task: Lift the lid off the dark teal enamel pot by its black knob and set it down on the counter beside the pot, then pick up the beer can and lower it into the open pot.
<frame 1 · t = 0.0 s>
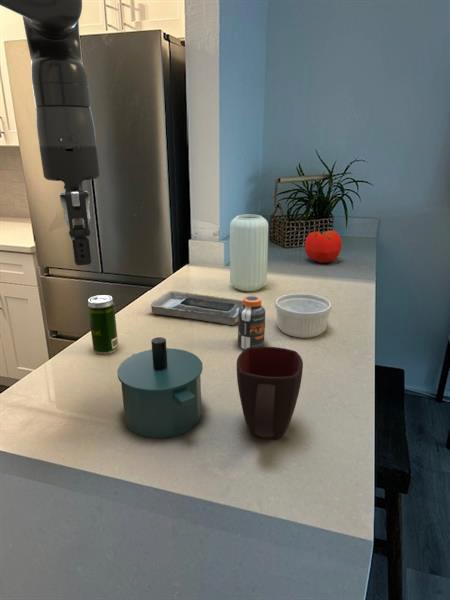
hand: (82, 257, 65), 27 cm above the counter, tool pointing down, fingers open, 8 cm apart
beer can: (106, 350, 95), on the counter
grey metal tray: (200, 313, 116), on the counter
tomato: (321, 261, 164), on the counter
cup: (266, 436, 67), on the counter
pill bottle: (251, 346, 97), on the counter
pot lid: (160, 369, 70), point 8 cm above the counter, touching pot
vase: (248, 288, 135), on the counter
ramekin: (301, 329, 105), on the counter
pot: (163, 414, 73), on the counter
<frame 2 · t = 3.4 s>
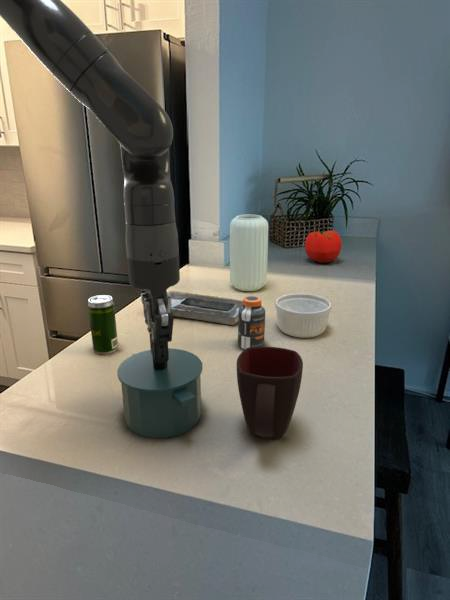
hand: (159, 357, 69), 11 cm above the counter, tool pointing down, fingers closed on pot lid, 2 cm apart
pot lid: (160, 369, 70), point 9 cm above the counter, touching gripper, pot
everything else where it was.
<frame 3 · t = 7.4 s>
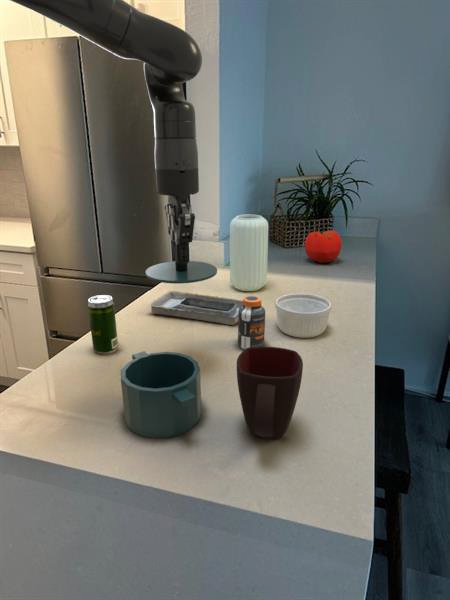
hand: (181, 261, 81), 22 cm above the counter, tool pointing down, fingers closed on pot lid, 2 cm apart
pot lid: (181, 272, 82), point 20 cm above the counter, touching gripper
everything else where it was.
when the fingers open (3 cm above the counter, at t = 11.7 s): pot lid stays where it is, point 1 cm above the counter.
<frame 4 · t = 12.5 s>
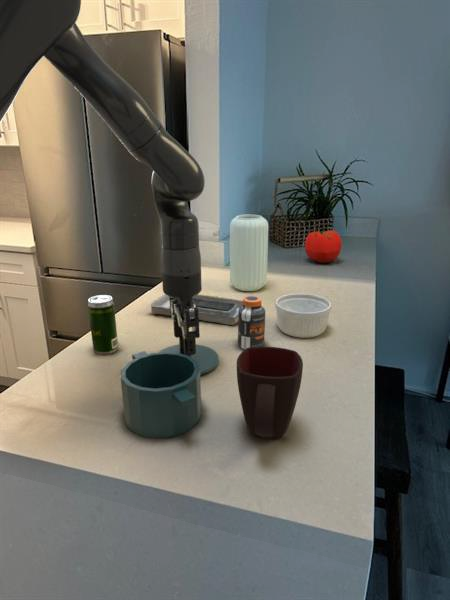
hand: (184, 345, 88), 4 cm above the counter, tool pointing down, fingers open, 8 cm apart
pot lid: (185, 360, 89), point 1 cm above the counter
everything else where it was.
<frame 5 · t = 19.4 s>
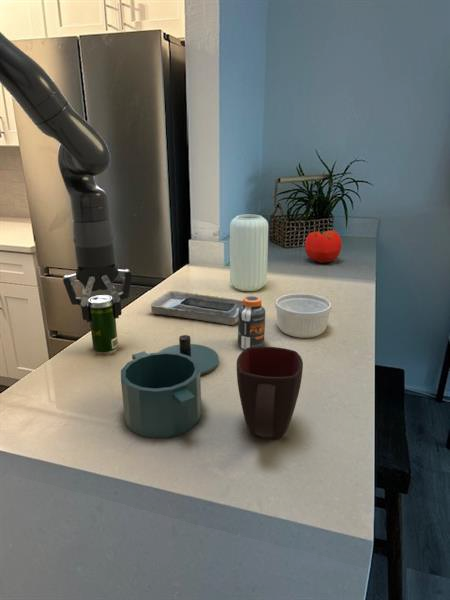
hand: (102, 318, 93), 7 cm above the counter, tool pointing down, fingers closed on beer can, 5 cm apart
beer can: (106, 350, 95), on the counter, touching gripper
everything else where it was.
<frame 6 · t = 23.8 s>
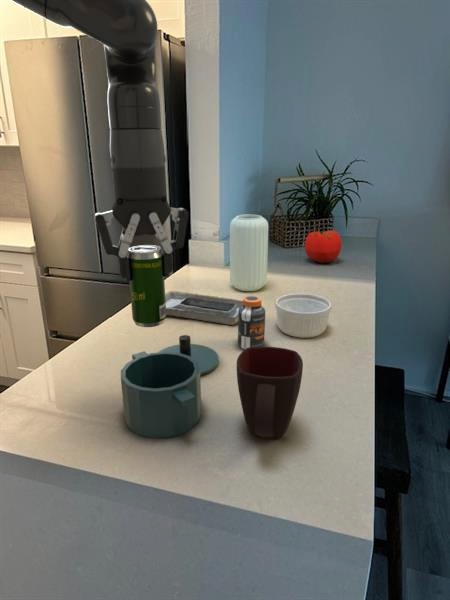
hand: (146, 277, 67), 23 cm above the counter, tool pointing down, fingers closed on beer can, 5 cm apart
beer can: (150, 322, 70), point 16 cm above the counter, touching gripper
everything else where it was.
when the fingers open (8 cm above the counter, at t = 28.0 s): beer can stays where it is, resting on pot.
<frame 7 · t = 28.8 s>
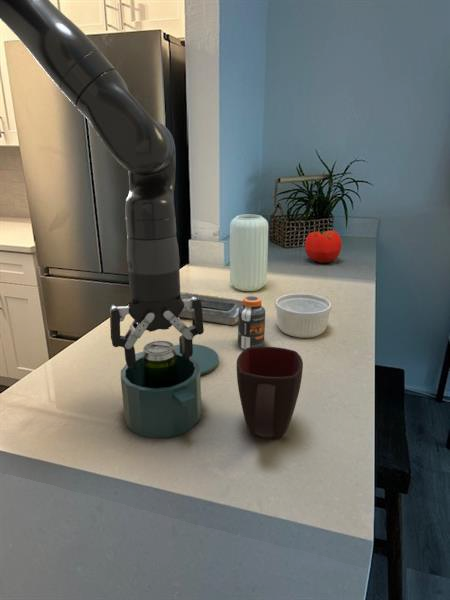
hand: (159, 362, 69), 10 cm above the counter, tool pointing down, fingers open, 8 cm apart
beer can: (163, 412, 73), resting on pot
everything else where it was.
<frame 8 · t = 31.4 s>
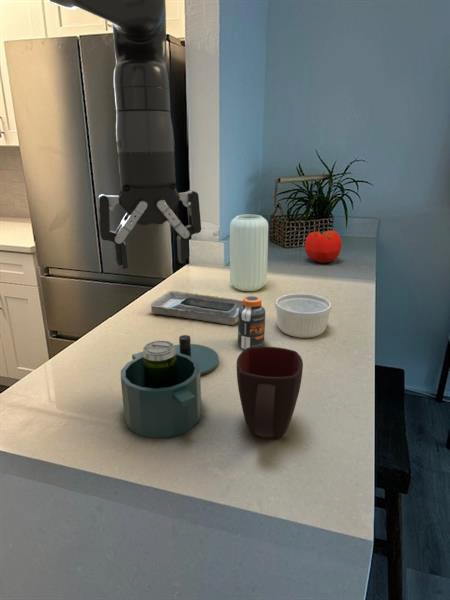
hand: (153, 264, 64), 26 cm above the counter, tool pointing down, fingers open, 8 cm apart
nothing on the counter moved.
at the end: pot lid inside the target area (0.1 cm from its centre), point 0.6 cm above the counter; beer can inside the target area in the pot (0.1 cm from its centre), point 0.3 cm above the pot's base; beer can tilted 0° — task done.
